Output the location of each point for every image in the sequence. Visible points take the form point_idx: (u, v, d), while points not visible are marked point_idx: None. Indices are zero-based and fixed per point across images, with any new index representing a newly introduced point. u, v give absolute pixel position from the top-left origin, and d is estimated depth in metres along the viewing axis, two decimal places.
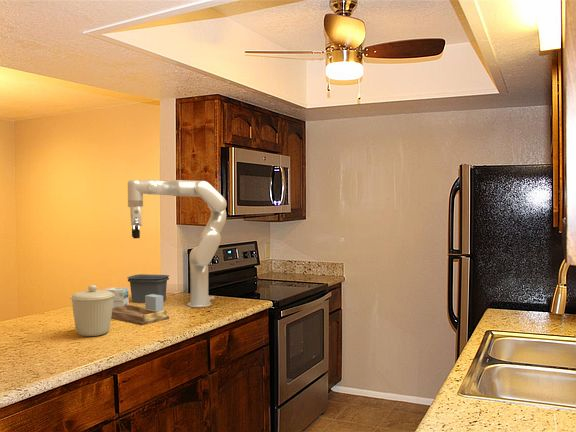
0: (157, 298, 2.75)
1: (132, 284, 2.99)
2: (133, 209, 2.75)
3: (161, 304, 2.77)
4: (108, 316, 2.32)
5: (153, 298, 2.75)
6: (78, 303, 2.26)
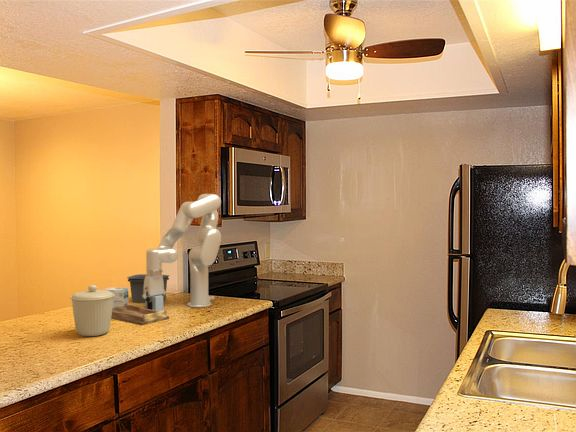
0: (157, 298, 2.75)
1: (132, 284, 2.99)
2: None
3: (161, 304, 2.77)
4: (108, 316, 2.32)
5: (153, 298, 2.75)
6: (78, 303, 2.26)
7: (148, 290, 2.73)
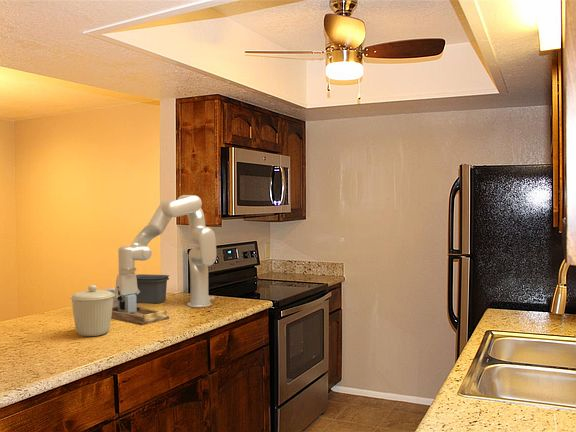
0: (129, 297, 2.64)
1: None
2: None
3: (134, 303, 2.66)
4: (108, 316, 2.32)
5: (125, 297, 2.64)
6: (78, 303, 2.26)
7: (120, 289, 2.62)
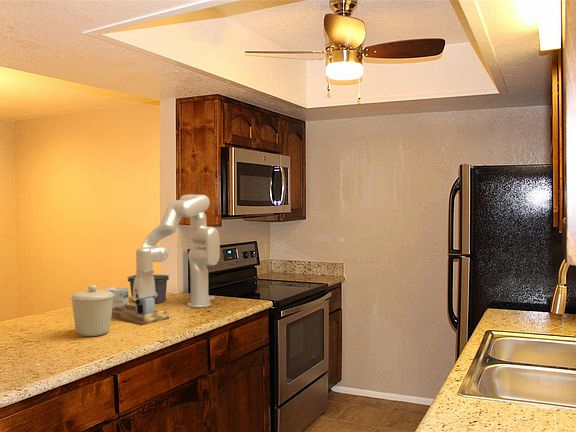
0: (148, 300, 2.56)
1: (132, 284, 2.99)
2: None
3: (152, 307, 2.58)
4: (108, 316, 2.32)
5: (143, 300, 2.56)
6: (78, 303, 2.26)
7: (138, 292, 2.54)
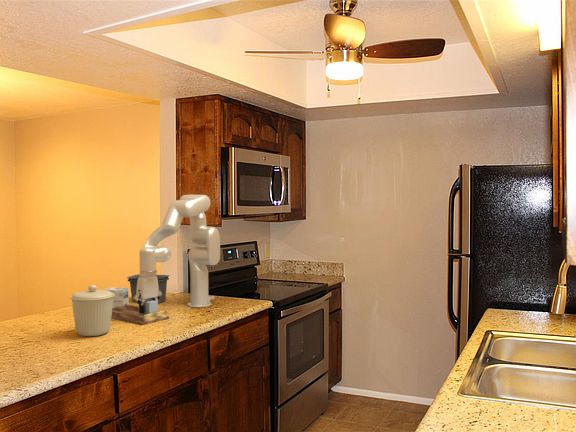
0: (151, 304, 2.55)
1: (132, 284, 2.99)
2: None
3: (155, 310, 2.57)
4: (108, 316, 2.32)
5: (147, 304, 2.55)
6: (78, 303, 2.26)
7: (141, 293, 2.53)
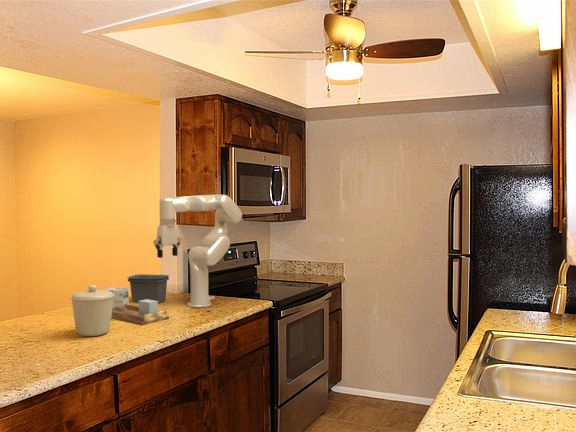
0: (151, 304, 2.55)
1: (132, 284, 2.99)
2: None
3: (155, 310, 2.57)
4: (108, 316, 2.32)
5: (147, 304, 2.55)
6: (78, 303, 2.26)
7: (161, 239, 2.69)
